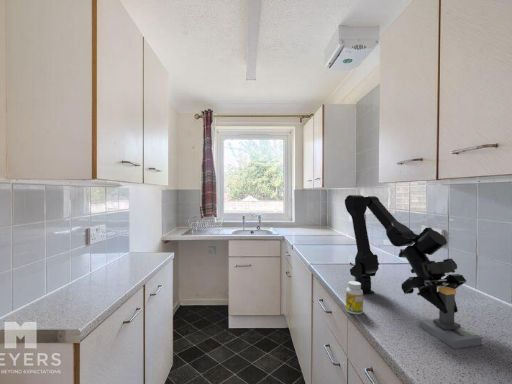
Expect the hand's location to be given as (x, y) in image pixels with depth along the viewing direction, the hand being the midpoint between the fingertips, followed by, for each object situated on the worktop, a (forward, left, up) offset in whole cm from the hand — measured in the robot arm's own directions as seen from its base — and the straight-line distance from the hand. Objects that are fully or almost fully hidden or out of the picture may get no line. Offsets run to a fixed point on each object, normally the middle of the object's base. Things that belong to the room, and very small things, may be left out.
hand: (451, 312), depth 74 cm
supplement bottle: (-19, -18, -7) cm, 27 cm away
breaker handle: (-1, 0, -4) cm, 5 cm away
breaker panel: (-1, 0, -7) cm, 7 cm away
